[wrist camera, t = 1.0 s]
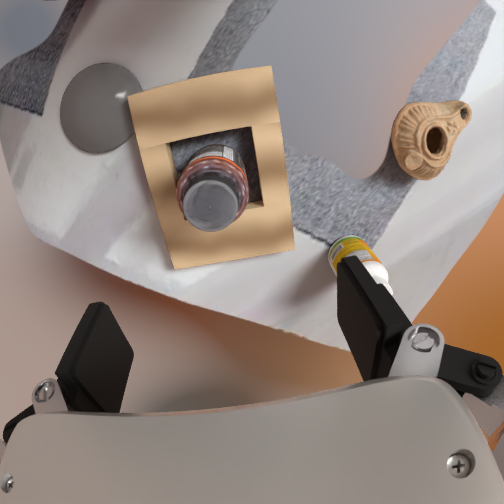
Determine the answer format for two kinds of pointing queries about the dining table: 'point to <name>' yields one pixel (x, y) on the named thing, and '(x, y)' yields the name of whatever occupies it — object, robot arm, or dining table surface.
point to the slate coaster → (99, 107)
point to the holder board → (204, 122)
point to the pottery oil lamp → (427, 136)
